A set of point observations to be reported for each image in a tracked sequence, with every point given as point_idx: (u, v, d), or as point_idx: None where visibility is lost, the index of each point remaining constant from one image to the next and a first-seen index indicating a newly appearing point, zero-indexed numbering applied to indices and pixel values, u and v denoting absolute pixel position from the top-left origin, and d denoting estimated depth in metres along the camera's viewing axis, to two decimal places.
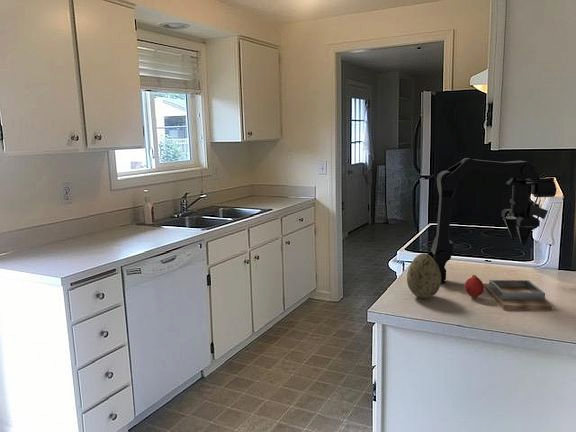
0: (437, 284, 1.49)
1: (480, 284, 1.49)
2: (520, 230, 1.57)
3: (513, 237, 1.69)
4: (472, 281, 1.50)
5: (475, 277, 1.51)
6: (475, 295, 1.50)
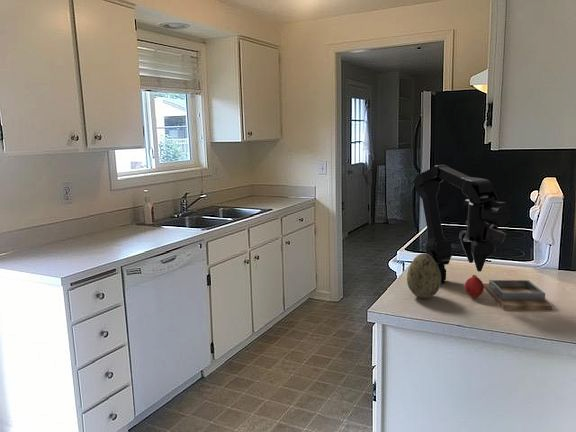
0: (437, 284, 1.49)
1: (480, 284, 1.49)
2: (475, 256, 1.44)
3: (471, 262, 1.55)
4: (472, 281, 1.50)
5: (475, 277, 1.51)
6: (475, 295, 1.50)
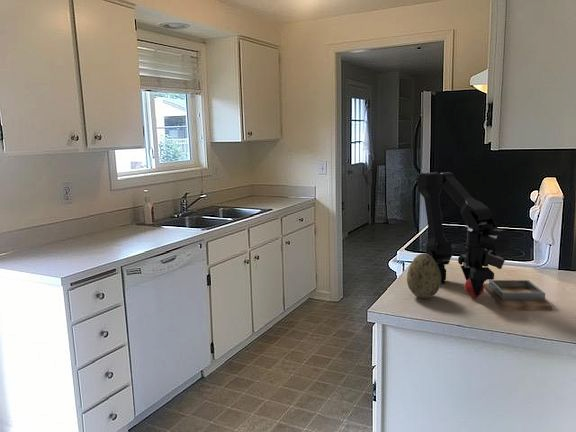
0: (437, 284, 1.49)
1: None
2: (472, 281, 1.47)
3: None
4: None
5: None
6: None
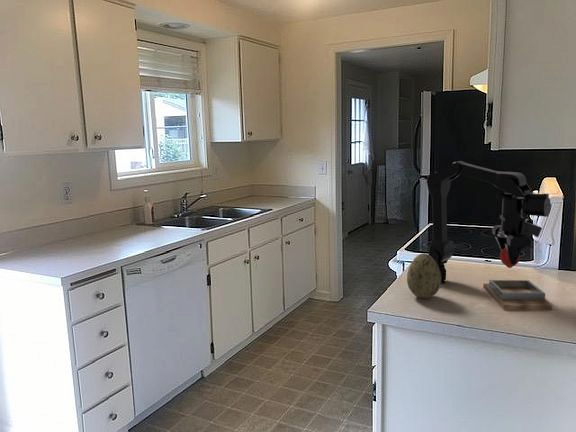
0: (437, 284, 1.49)
1: None
2: (509, 249, 1.43)
3: None
4: None
5: None
6: (511, 264, 1.47)
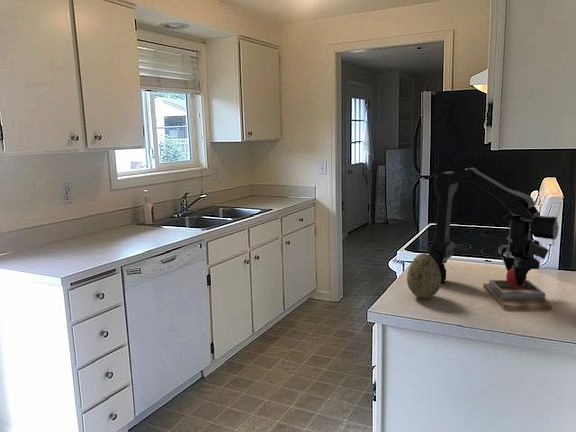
0: (437, 284, 1.49)
1: None
2: (516, 270, 1.45)
3: None
4: None
5: None
6: (517, 285, 1.49)
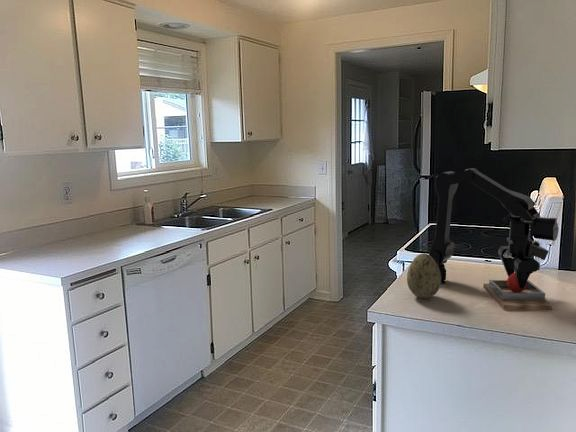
0: (437, 284, 1.49)
1: None
2: (518, 273, 1.43)
3: None
4: (516, 277, 1.48)
5: None
6: (518, 291, 1.49)
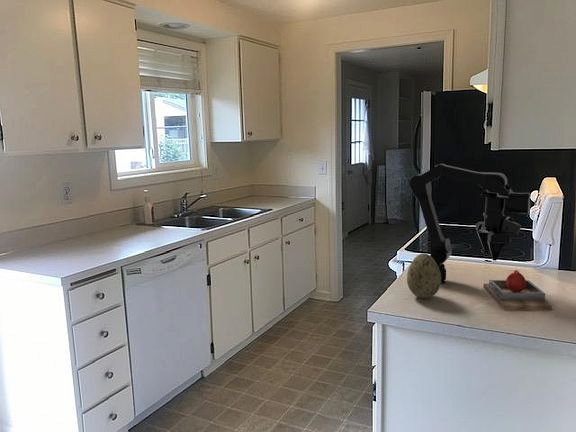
0: (437, 284, 1.49)
1: (522, 279, 1.48)
2: (491, 245, 1.51)
3: (486, 252, 1.63)
4: (515, 276, 1.49)
5: (517, 272, 1.49)
6: (517, 291, 1.49)
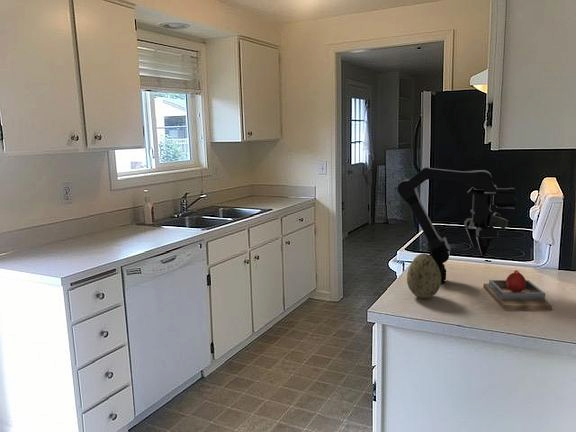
0: (437, 284, 1.49)
1: (523, 280, 1.48)
2: (479, 241, 1.55)
3: (475, 247, 1.67)
4: (515, 276, 1.49)
5: (517, 273, 1.49)
6: (517, 291, 1.49)
